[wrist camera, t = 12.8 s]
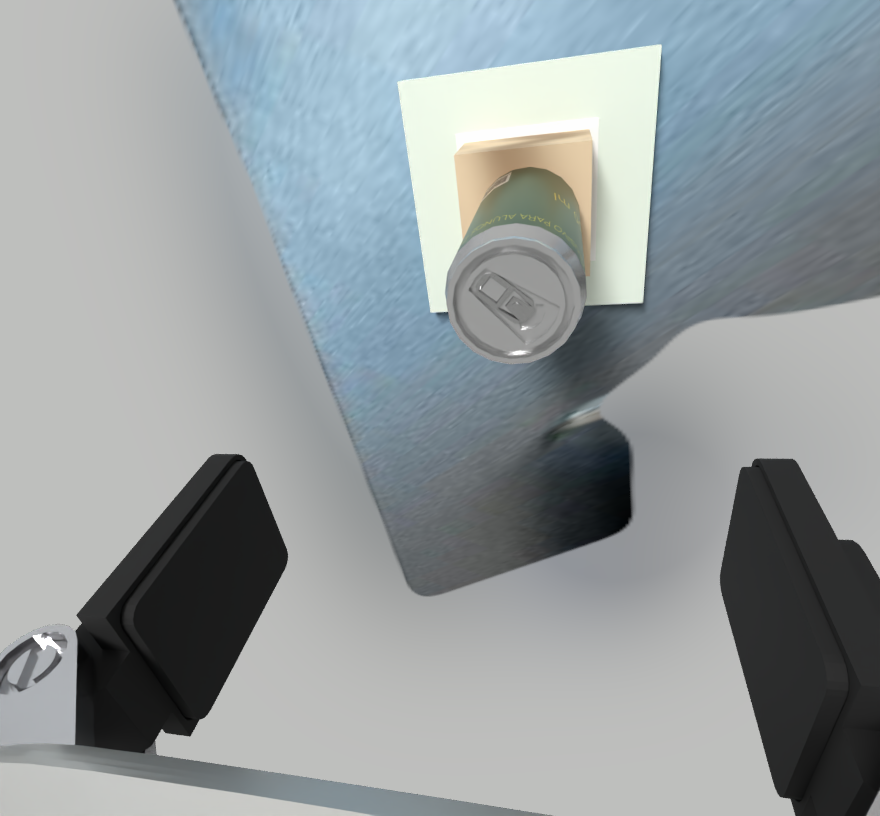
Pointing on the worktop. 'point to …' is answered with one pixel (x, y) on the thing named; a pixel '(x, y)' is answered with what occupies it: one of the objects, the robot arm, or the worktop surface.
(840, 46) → the worktop surface
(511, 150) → the oak block
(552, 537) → the worktop surface
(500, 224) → the beer can
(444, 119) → the board
